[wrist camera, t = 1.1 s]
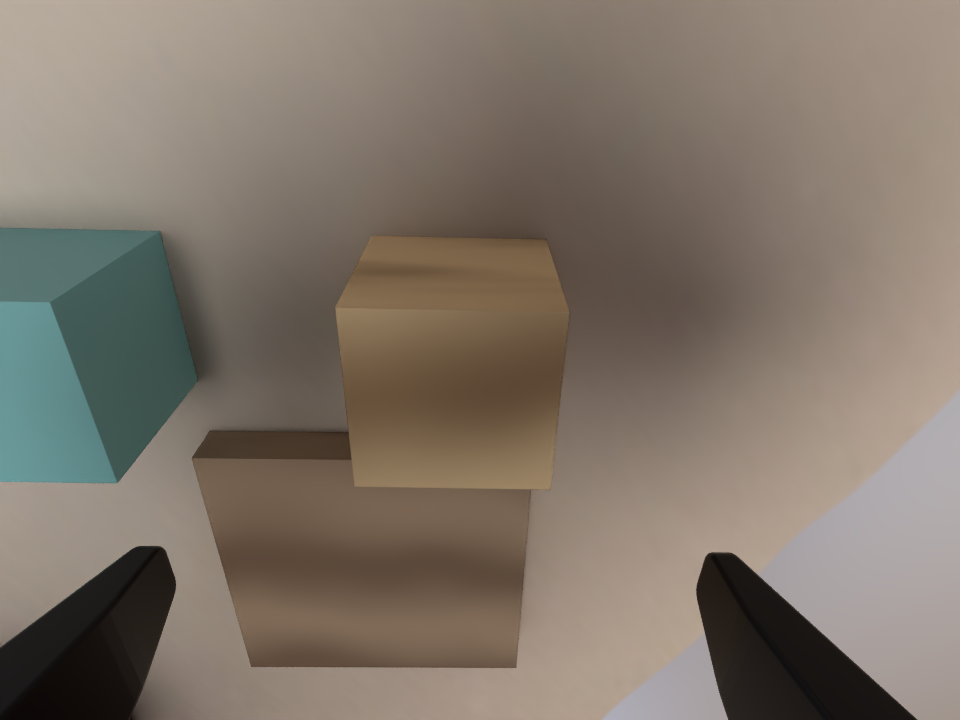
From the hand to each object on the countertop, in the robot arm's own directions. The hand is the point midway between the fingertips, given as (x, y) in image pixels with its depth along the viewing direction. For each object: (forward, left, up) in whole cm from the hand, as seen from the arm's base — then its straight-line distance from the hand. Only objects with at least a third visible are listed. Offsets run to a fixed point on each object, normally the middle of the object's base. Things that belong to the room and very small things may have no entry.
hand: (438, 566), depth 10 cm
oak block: (0, 0, -10) cm, 10 cm away
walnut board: (-10, +3, -10) cm, 14 cm away
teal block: (0, +11, -10) cm, 15 cm away
